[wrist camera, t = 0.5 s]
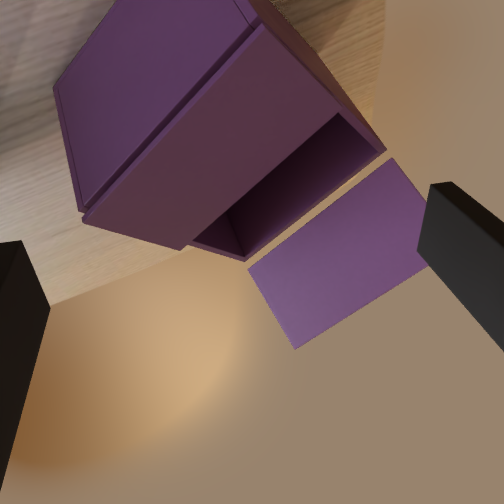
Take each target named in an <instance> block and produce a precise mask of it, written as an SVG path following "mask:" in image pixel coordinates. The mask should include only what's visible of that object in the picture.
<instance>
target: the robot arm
mask: <svg viewBox="0 0 504 504" xmlns="http://www.w3.org/2000/svg"><path fill="white" fill-rule="evenodd" d="M417 252H418V253H419V255H420V256H421V257H422V258H423V259H424V260H425V261H426V263H427V264H428V265H429V266H430V267H431V268H432V270H433V271H434V272H435V273H436V274H437V275H438V276H439V278H440V279H441V280H442V281H443V282H444V283H445V284H446V285H447V287H448V288H449V289H450V290H451V291H452V293H453V294H454V295H455V296H456V297H457V298H458V299H459V301H460V302H461V303H462V304H463V305H464V306H465V308H466V309H467V310H468V311H469V312H470V313H471V314H472V316H473V317H474V318H475V319H476V320H477V321H478V323H479V324H480V325H481V326H482V327H483V328H484V330H486V332H487V333H488V334H489V335H490V336H491V338H492V339H493V340H494V341H495V342H496V343H497V345H498V346H499V347H500V348H501V349H502V350H503V351H504V222H502V221H501V220H500V219H498V218H497V217H496V216H495V215H493V214H492V213H491V212H490V211H488V210H487V209H486V208H485V207H483V206H482V205H481V204H480V203H478V202H477V201H476V200H474V199H473V198H472V197H471V196H469V195H468V194H467V193H465V192H464V191H463V190H462V189H461V188H459V187H458V186H456V185H455V184H454V183H453V182H444V183H436V184H431V185H430V189H429V194H428V198H427V203H426V208H425V213H424V217H423V222H422V227H421V232H420V236H419V241H418V246H417ZM49 312H50V306H49V303H48V301H47V299H46V296H45V294H44V292H43V289H42V287H41V285H40V282H39V280H38V278H37V275H36V273H35V270H34V268H33V266H32V263H31V261H30V259H29V256H28V254H27V252H26V249H25V247H24V245H23V242H22V240H19V241H12V242H4V243H0V490H1V487H2V483H3V479H4V476H5V472H6V469H7V465H8V461H9V458H10V454H11V450H12V447H13V443H14V439H15V436H16V432H17V428H18V425H19V421H20V418H21V414H22V410H23V407H24V403H25V399H26V395H27V392H28V389H29V385H30V381H31V378H32V374H33V370H34V366H35V363H36V359H37V356H38V352H39V348H40V344H41V341H42V338H43V334H44V330H45V327H46V323H47V319H48V316H49Z"/></svg>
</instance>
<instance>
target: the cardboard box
mask: <svg viewBox="0 0 504 504" xmlns="http://www.w3.org/2000/svg"><path fill="white" fill-rule="evenodd" d="M53 92H54V97H55V102H56V106H57V111H58V116H59V121H60V126H61V130H62V135H63V140H64V145H65V150H66V154H67V159H68V164H69V169H70V173H71V178H72V183H73V188H74V193H75V197H76V202H77V207H78V211H79V212H82V213H85V215H84V216H83V217H82V222H83V223H84V224H87V225H91V226H94V227H98V228H101V229H105V230H108V231H112V232H115V233H119V234H123V235H126V236H130V237H133V238H137V239H140V240H144V241H147V242H151V243H154V244H158V245H161V246H165V247H168V248H172V249H175V250H179V251H181V250H182V249H183V248H184V247H185V246H186V245H190V246H193V247H197V248H200V249H203V250H207V251H210V252H213V253H216V254H220V255H223V256H226V257H230V258H233V259H236V260H239V261H243V262H245V261H247V260H248V259H249V258H250V257H252V256H253V255H254V254H255V253H257V252H258V251H259V250H261V249H262V248H263V247H264V246H266V245H267V244H268V243H269V242H271V241H272V240H273V239H274V238H276V237H277V236H278V235H279V234H281V233H282V232H283V231H285V230H286V229H287V228H288V227H290V226H291V225H292V224H294V223H295V222H296V221H297V220H299V219H300V218H301V217H302V216H304V215H305V214H306V213H307V212H309V211H310V210H311V209H312V208H314V207H315V206H316V205H318V204H319V203H320V202H321V201H323V200H324V199H325V198H327V197H328V196H329V195H330V194H332V193H333V192H334V191H335V190H337V189H338V188H339V187H340V186H342V185H343V184H344V183H346V182H347V181H348V180H349V179H351V178H352V177H353V176H354V175H356V174H357V173H358V172H359V171H361V170H362V169H363V168H365V167H366V166H367V165H368V164H370V163H371V162H372V161H373V160H375V159H376V158H377V157H379V156H380V154H382V153H384V152H385V151H386V150H387V148H386V147H385V146H384V144H383V143H382V142H381V140H380V139H379V138H378V136H377V135H376V134H375V132H374V131H373V129H372V128H371V127H370V125H369V124H368V123H367V121H366V120H365V119H364V117H363V116H362V115H361V113H360V112H359V110H358V109H357V108H356V106H355V105H354V104H353V102H352V101H351V100H350V98H349V97H348V96H347V94H346V93H345V91H344V90H343V89H342V87H341V86H340V85H339V83H338V82H337V81H336V79H335V78H334V76H333V75H332V74H331V72H330V71H329V70H328V68H327V67H326V66H325V64H324V63H323V62H322V60H321V59H320V57H319V56H318V55H317V54H316V53H315V52H314V50H313V49H312V48H311V47H310V46H309V45H308V44H307V43H306V41H305V40H304V39H303V38H302V37H301V36H300V35H299V34H298V32H297V31H296V30H295V29H294V28H293V27H292V26H291V25H290V23H289V22H288V21H287V20H286V19H285V18H284V17H283V16H282V14H281V13H280V12H279V11H278V10H277V9H276V8H275V7H274V5H273V4H272V3H271V2H270V1H269V0H117V1H116V2H115V3H114V5H113V6H112V7H111V9H110V10H109V12H108V13H107V14H106V16H105V17H104V18H103V20H102V21H101V23H100V24H99V25H98V27H97V28H96V29H95V31H94V32H93V33H92V35H91V36H90V38H89V39H88V40H87V42H86V43H85V44H84V46H83V47H82V48H81V50H80V51H79V53H78V54H77V55H76V57H75V58H74V59H73V61H72V62H71V64H70V65H69V66H68V68H67V69H66V70H65V72H64V73H63V74H62V76H61V77H60V79H59V80H58V81H57V83H56V84H55V85H54V87H53Z"/></svg>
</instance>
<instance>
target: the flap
mask: <svg viewBox="0 0 504 504" xmlns="http://www.w3.org/2000/svg"><path fill="white" fill-rule="evenodd" d="M426 203H427V202H426V201H425V200H424V198H423V197H422V196H421V194H420V193H419V192H418V190H417V189H416V188H415V186H414V185H413V184H412V183H411V181H410V180H409V179H408V177H407V176H406V175H405V173H404V172H403V171H402V169H401V168H400V167H399V166H398V164H397V163H396V162H395V160H394V159H393V158H391V159H389V160H388V161H386V162H385V163H384V164H383V165H381V166H380V167H379V168H377V169H376V170H375V171H374V172H372V173H371V174H370V175H368V176H367V177H366V178H364V179H363V180H362V181H361V182H360V183H358V184H357V185H355V186H354V187H353V188H352V189H350V190H349V191H348V192H347V193H345V194H344V195H343V196H341V197H340V198H339V199H337V200H336V201H335V202H334V203H332V204H331V205H330V206H328V207H327V208H326V209H325V210H323V211H322V212H321V213H319V214H318V215H317V216H316V217H314V218H313V219H312V220H310V221H309V222H308V223H306V224H305V225H304V226H303V227H301V228H300V229H299V230H297V231H296V232H295V233H294V234H292V235H291V236H290V237H288V238H287V239H286V240H285V241H283V242H282V243H281V244H279V245H278V246H277V247H276V248H274V249H273V250H272V251H270V252H269V253H268V254H267V255H265V256H264V257H263V258H261V259H260V260H259V261H258V262H256V263H255V264H254V265H252V266H251V267H250V268H249V269H248V271H249V273H250V275H251V276H252V278H253V280H254V282H255V283H256V285H257V287H258V288H259V290H260V292H261V293H262V295H263V297H264V298H265V300H266V302H267V303H268V305H269V307H270V308H271V310H272V312H273V314H274V315H275V317H276V319H277V320H278V322H279V324H280V326H281V327H282V329H283V330H284V332H285V334H286V335H287V337H288V339H289V341H290V342H291V344H292V346H293V347H294V349H297V348H299V347H300V346H302V345H304V344H305V343H307V342H308V341H310V340H311V339H313V338H315V337H316V336H318V335H319V334H321V333H323V332H324V331H326V330H327V329H329V328H330V327H332V326H334V325H335V324H337V323H338V322H340V321H342V320H343V319H345V318H346V317H348V316H349V315H351V314H353V313H354V312H356V311H357V310H359V309H360V308H362V307H364V306H365V305H367V304H368V303H370V302H372V301H373V300H375V299H377V298H378V297H380V296H381V295H383V294H384V293H386V292H388V291H389V290H391V289H392V288H394V287H395V286H397V285H399V284H400V283H402V282H403V281H405V280H407V279H408V278H410V277H411V276H413V275H415V274H416V273H418V272H419V271H421V270H422V269H424V268H426V267H427V266H429V265H428V264H427V263H426V261H425V260H424V259H423V258H422V257H421V256H420V255H419V253H418V252H417V246H418V241H419V236H420V232H421V227H422V222H423V217H424V213H425V208H426Z"/></svg>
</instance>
